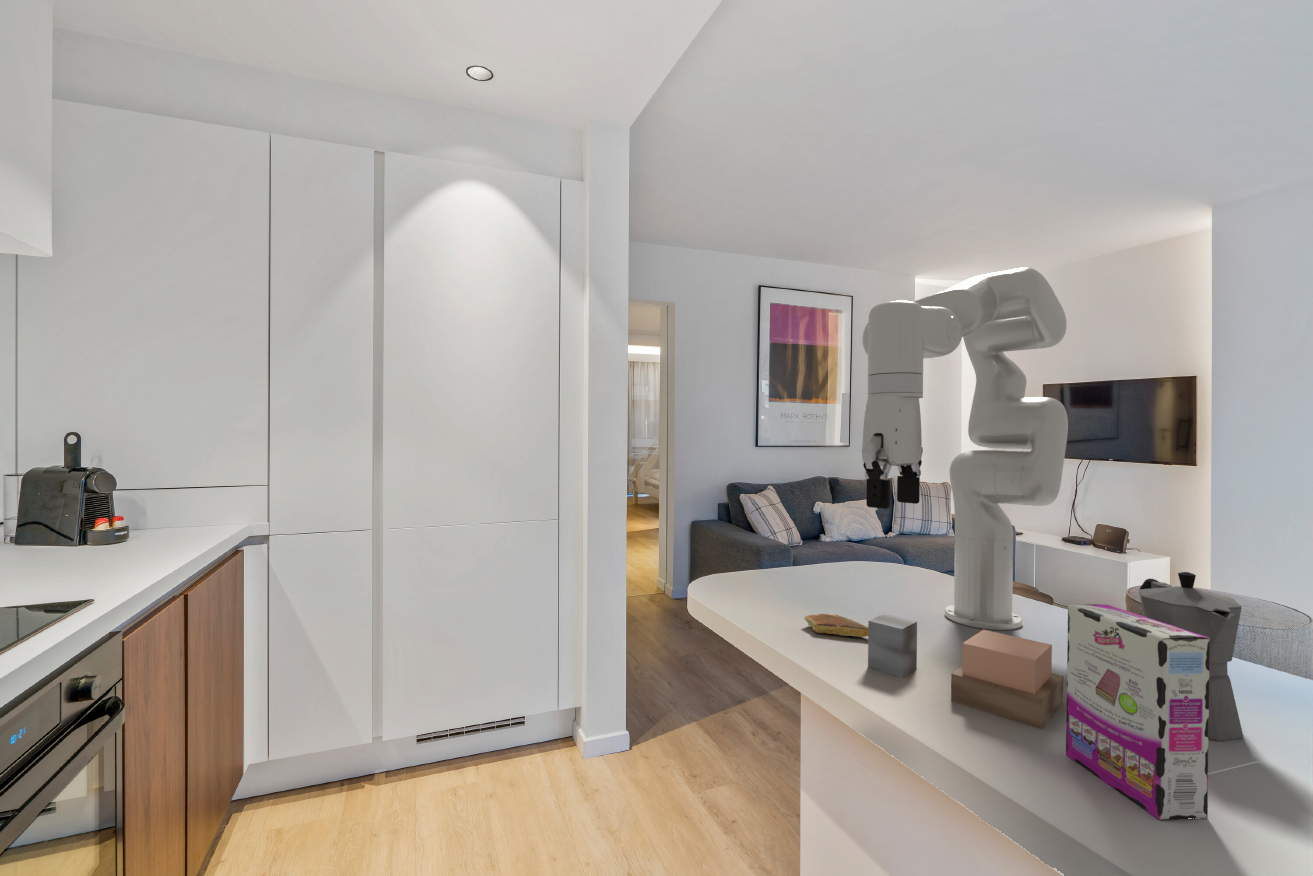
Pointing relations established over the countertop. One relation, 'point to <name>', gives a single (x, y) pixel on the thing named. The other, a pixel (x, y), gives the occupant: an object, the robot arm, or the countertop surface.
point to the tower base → (1009, 698)
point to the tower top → (1007, 660)
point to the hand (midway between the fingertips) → (893, 505)
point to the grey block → (892, 645)
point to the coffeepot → (1208, 620)
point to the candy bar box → (1139, 708)
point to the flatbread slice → (836, 625)
